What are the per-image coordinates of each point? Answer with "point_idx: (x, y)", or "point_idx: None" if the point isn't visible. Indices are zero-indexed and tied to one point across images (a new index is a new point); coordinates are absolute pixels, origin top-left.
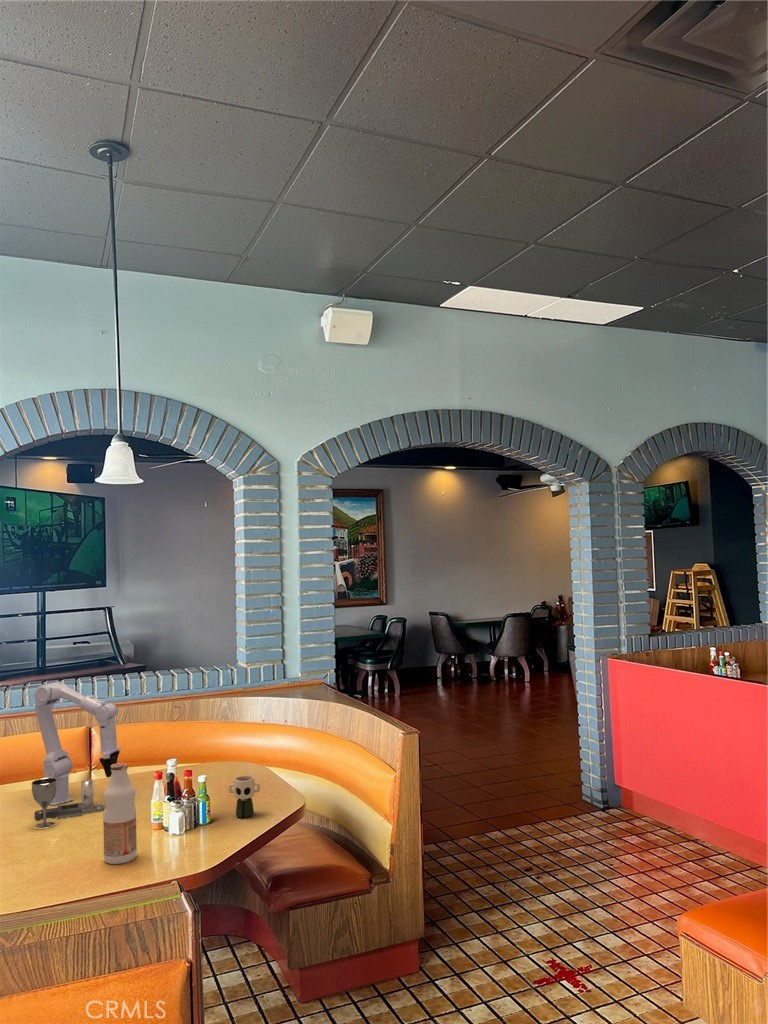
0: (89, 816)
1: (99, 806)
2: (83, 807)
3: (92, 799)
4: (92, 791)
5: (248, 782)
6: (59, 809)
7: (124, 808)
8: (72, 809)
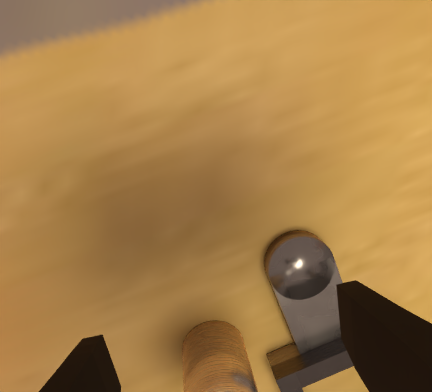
0: (393, 264)
1: (297, 263)
2: (302, 344)
3: (221, 344)
4: (227, 380)
5: None
6: None
7: None
8: None
